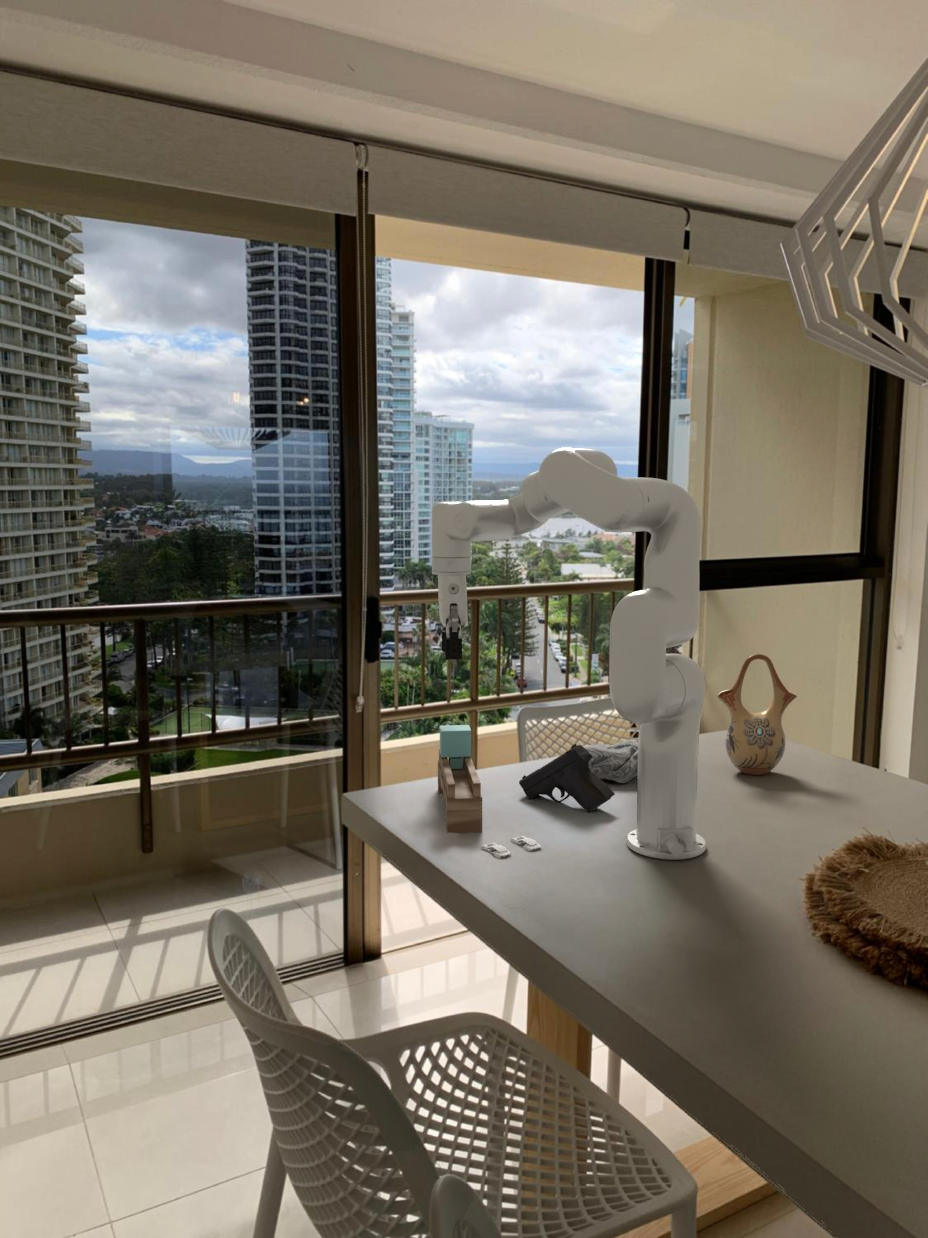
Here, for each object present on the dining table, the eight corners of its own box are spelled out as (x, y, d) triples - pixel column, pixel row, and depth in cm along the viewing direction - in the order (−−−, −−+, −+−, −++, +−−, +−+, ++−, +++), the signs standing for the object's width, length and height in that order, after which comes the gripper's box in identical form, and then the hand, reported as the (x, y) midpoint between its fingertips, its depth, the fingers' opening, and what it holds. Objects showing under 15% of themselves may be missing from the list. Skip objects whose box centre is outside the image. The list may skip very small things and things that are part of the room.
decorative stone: (560, 756, 192) (579, 713, 191) (608, 771, 198) (628, 729, 197) (597, 787, 179) (618, 741, 178) (648, 802, 186) (669, 757, 185)
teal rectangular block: (471, 769, 172) (471, 730, 171) (441, 770, 171) (441, 731, 170) (469, 763, 176) (468, 724, 175) (440, 764, 176) (439, 725, 175)
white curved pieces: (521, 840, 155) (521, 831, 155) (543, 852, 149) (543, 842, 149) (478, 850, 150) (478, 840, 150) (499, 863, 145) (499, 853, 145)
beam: (483, 831, 157) (483, 784, 156) (446, 833, 157) (446, 785, 156) (469, 788, 181) (468, 747, 180) (437, 789, 180) (436, 748, 179)
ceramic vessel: (785, 766, 195) (789, 649, 192) (801, 778, 186) (806, 656, 183) (708, 767, 195) (711, 650, 192) (721, 779, 186) (725, 657, 183)
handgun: (607, 801, 164) (574, 743, 167) (545, 837, 173) (514, 780, 176) (616, 796, 167) (583, 739, 170) (555, 831, 176) (524, 776, 179)
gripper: (475, 569, 169) (475, 662, 171) (466, 563, 186) (466, 647, 188) (434, 569, 168) (435, 663, 170) (429, 563, 185) (429, 648, 187)
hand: (451, 654), depth 179 cm, fingers open, 8 cm apart
